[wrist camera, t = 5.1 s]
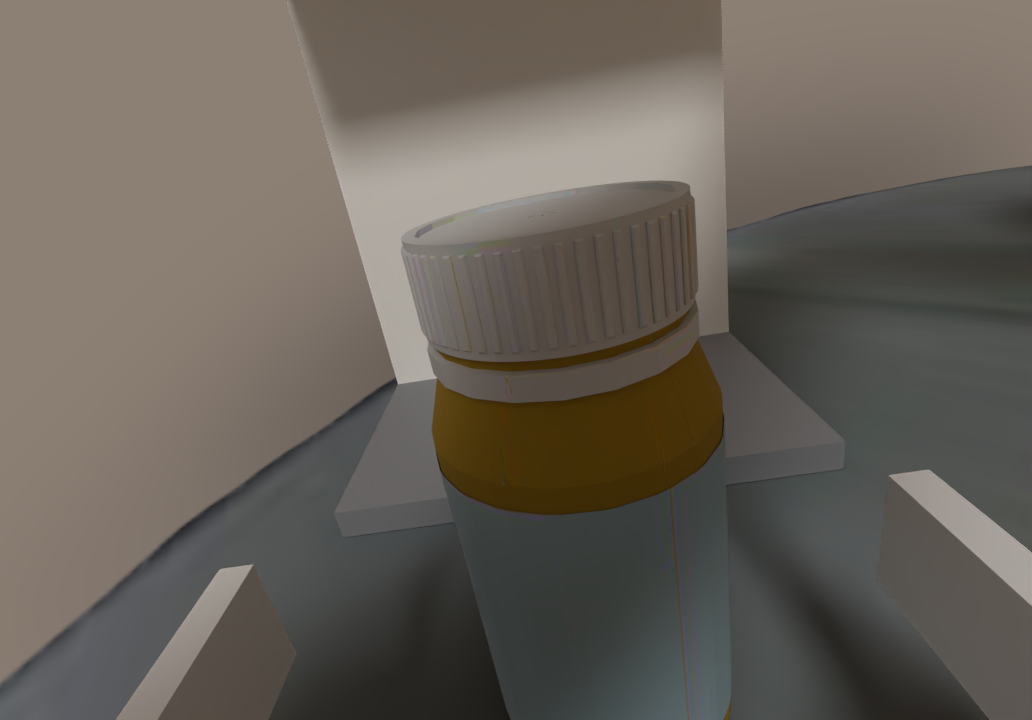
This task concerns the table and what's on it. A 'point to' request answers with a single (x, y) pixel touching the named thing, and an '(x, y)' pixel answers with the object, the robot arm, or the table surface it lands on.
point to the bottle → (583, 447)
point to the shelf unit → (527, 185)
